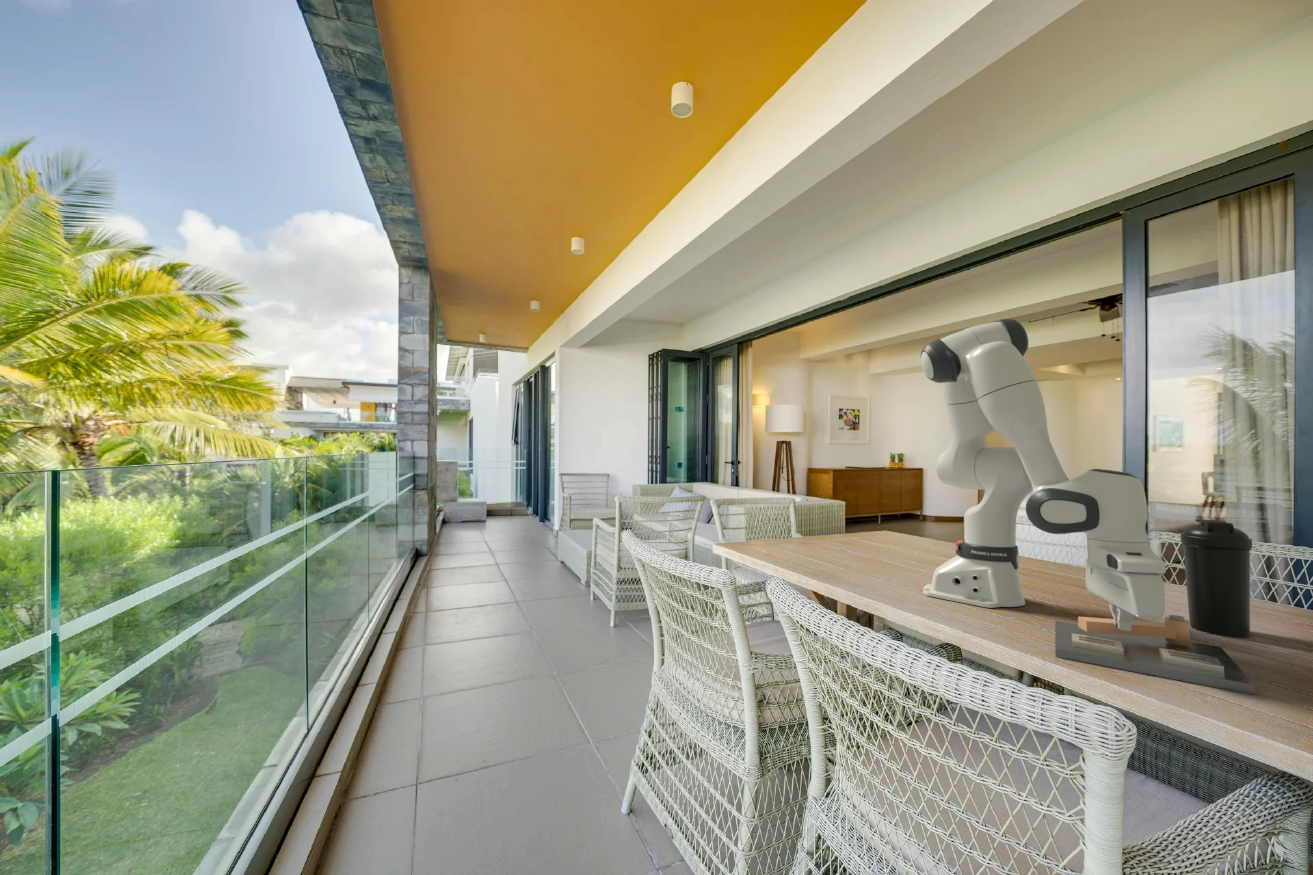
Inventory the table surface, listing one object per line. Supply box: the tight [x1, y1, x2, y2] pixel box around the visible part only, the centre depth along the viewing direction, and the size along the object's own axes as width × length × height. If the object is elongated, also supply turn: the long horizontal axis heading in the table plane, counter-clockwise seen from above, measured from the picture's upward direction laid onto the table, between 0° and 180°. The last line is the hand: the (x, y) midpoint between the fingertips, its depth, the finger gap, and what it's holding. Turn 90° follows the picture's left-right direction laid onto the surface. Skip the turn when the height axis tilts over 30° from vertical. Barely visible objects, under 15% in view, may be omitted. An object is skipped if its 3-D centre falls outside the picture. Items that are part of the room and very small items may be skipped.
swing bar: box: [1077, 614, 1191, 646], centre depth 96 cm, size 17×3×5 cm, turn 75°
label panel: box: [1054, 620, 1256, 696], centre depth 93 cm, size 24×20×3 cm
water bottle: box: [1180, 519, 1253, 639], centre depth 107 cm, size 10×10×23 cm
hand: (1122, 629), depth 95 cm, fingers closed
